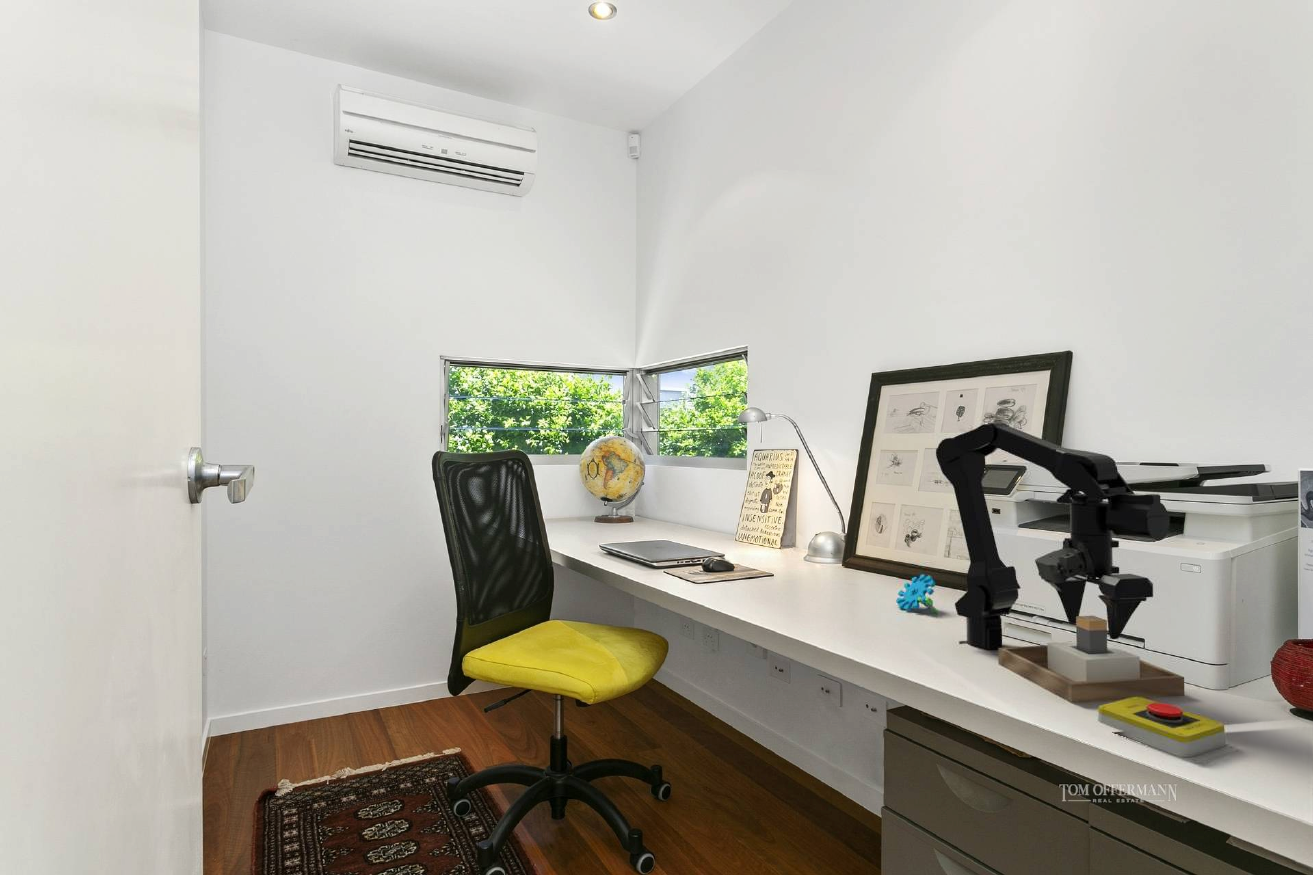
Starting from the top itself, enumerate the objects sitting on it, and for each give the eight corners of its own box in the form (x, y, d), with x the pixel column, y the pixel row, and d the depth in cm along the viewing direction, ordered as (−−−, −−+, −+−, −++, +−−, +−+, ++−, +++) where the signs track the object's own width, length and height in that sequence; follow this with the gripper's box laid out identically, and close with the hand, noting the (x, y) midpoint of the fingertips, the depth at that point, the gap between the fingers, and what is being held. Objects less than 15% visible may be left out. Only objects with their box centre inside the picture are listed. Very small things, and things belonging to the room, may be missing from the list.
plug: (1076, 665, 118) (1076, 616, 118) (1094, 664, 118) (1093, 615, 118) (1090, 671, 115) (1089, 621, 115) (1107, 670, 115) (1106, 620, 115)
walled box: (998, 668, 123) (998, 647, 123) (1096, 662, 125) (1096, 642, 125) (1071, 708, 105) (1071, 684, 105) (1184, 700, 107) (1184, 677, 107)
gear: (887, 597, 170) (918, 566, 170) (904, 613, 171) (935, 583, 170) (908, 615, 159) (941, 582, 159) (925, 632, 160) (958, 600, 160)
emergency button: (1196, 732, 87) (1079, 692, 101) (1197, 769, 87) (1079, 724, 101) (1241, 718, 91) (1122, 682, 105) (1242, 753, 91) (1122, 712, 105)
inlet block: (1047, 668, 120) (1047, 642, 120) (1097, 665, 122) (1097, 640, 122) (1086, 687, 112) (1085, 659, 112) (1140, 683, 113) (1139, 656, 113)
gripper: (1008, 527, 125) (1010, 618, 125) (1085, 543, 106) (1087, 650, 106) (1069, 525, 126) (1070, 615, 126) (1155, 540, 107) (1157, 646, 107)
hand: (1092, 630), depth 116 cm, fingers open, 9 cm apart
